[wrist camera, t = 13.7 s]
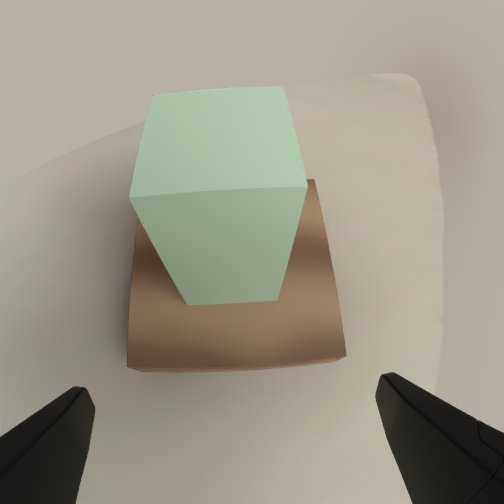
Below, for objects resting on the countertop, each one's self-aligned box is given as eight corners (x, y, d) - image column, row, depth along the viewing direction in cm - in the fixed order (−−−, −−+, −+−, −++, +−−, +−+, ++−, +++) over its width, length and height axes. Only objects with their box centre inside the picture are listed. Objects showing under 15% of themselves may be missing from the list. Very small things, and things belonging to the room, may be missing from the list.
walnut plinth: (334, 361, 18) (346, 355, 16) (141, 371, 18) (127, 366, 15) (308, 200, 24) (314, 179, 21) (151, 208, 23) (142, 188, 21)
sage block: (277, 300, 17) (308, 186, 8) (187, 305, 17) (128, 197, 8) (268, 223, 20) (283, 86, 11) (188, 228, 19) (152, 95, 11)
